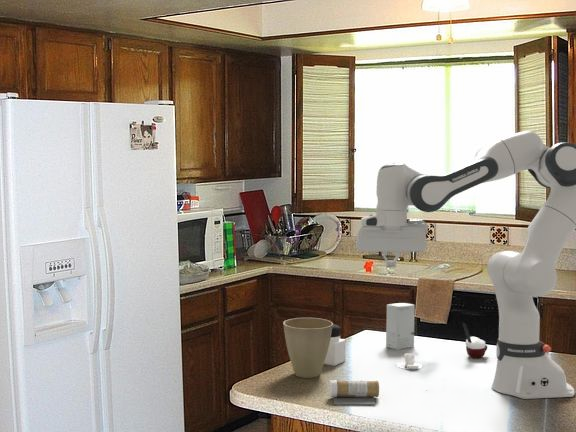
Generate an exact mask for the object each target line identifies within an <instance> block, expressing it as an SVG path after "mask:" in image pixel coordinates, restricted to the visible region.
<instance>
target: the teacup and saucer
mask: <svg viewBox="0 0 576 432" xmlns="http://www.w3.org/2000/svg"><path fill="white" fill-rule="evenodd" d="M401 365H405V367H402V366H401ZM396 366H397V368H399V369H403V370H420V369H422V368H423V365H422V364H420V363H418V362H417V363H416V362H415V354H414V353H411V352H410V353H408V352H407V353H404V362H399V363H397V364H396Z"/></svg>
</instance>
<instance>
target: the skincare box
mask: <svg viewBox="0 0 576 432" xmlns="http://www.w3.org/2000/svg"><path fill="white" fill-rule="evenodd" d="M415 306H416V305H415V304H413V303H408V302H398V303H389V304H386V320H385V321H386V325H385V326H386V329H385V331H386V337H385V347H387V348H390V349H393V350H396V351H397V350H398V351H399V350H403V349H408V348H414V346H415V308H416V307H415Z"/></svg>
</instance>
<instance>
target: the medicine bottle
mask: <svg viewBox="0 0 576 432" xmlns="http://www.w3.org/2000/svg"><path fill="white" fill-rule="evenodd" d="M343 362H346V339H345V338H341V326H340V325H338V324H335V323H333V327H332V333H331V338H330V343H329V348H328V351H327V355H326V358H325V361H324V364H323V365H328V366H334V367H335V366H337V365H339V364H342V363H343Z"/></svg>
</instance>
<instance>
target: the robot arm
mask: <svg viewBox="0 0 576 432" xmlns="http://www.w3.org/2000/svg"><path fill="white" fill-rule="evenodd" d="M526 170H527V171H528V173H529V174H530V175H531V176H532V177H533V178H534V180H535V181H536V182H537V183H538V184H539V185H540V186H541V187H543V188H544V189H545V188H546V189H549V190H550V192H549V195H548V197H547V199H546V201H545V202H544V203H543V204H542V206H541V207H540V209H539V210H538V212H537V213H536V214H535V216H534V218H533V219H532V221H530V223H529V224H528V227H527V228H526V234H527V240H526V243H525V245H524V248H523V250H522V251H521V252H518V251H515V250H505V251H503V250H502V251H499V252H495V253H494V254H493V255H492V256H491V257H490V258H489V260H488V262H487V266H486V272H487V275H488V277H489V278H490V281H491V282H492V285H493V289H494V292H495V298H496V302H497V306H498V317H499V318H498V323H499V324H498V338H497V339H496V340H497V343H496V358H497V360H496V361H497V362H496V367H495V368H496V370H495V373H494V378H493V382H492V385H491V388H492V389H493V390H494V391H496V392H499V393H501V394H504V395H509V396H514V397H517V398H520V399H525V400H529V399H545V398H546V399H549V398H550V399H552V398H568V397H569V398H571V397H574V396H575V394H576V393H575V388H574V387H573V386H572V385H571V384H570V383H568V382H567V377H566V373H565V371H564V369H563V368H562V367H561V365H560V364H558V363H557V362H555V361H554V360H553V358H551V357H550V356H548V355H547V354H550V352H551V350H552V348H551V346H549V344H545V342H543V341H541V340H540V322H541V320H540V319H541V316H540V312H539V310H538V308H537V306H536V305H535V302H534V298H533V297H543V296H546V295H548V294H551V293H552V291H553V290H554V289H555V287H556V285H557V282H558V273H557V270H556V269H557V263H558V261H559V258H560V254H561V253H562V250H563V249H564V247H565V245H566V244H567V243H568V241H569V239H570V237H571V236H572V234H573V233H574V232H575V230H576V144H575V143H573V142H568V141H566V142H565V141H563V142H558V143H555V144H553V145H552V146H550V147H549V146H546V144H545V143H544V142H543V139H542V138H541V136H540V135H538V133H536V132H535V131H532V130H525V131H520V132H515V133H513V134H509V135H506V136H503V137H500V138H498V139H495V140H494V141H491V142H490V143H488V144H486V145H484V146H483V147H481V148H479V149H478V150H477V151H476V153H475V157H474V158H473V160H472V161H470V162H469V163H468V164H466V165H464V166H461V167H459V168H456V169H455V170H453V171H450V172H448V173H445V174H441V175H428V174H424V173H422V172H419V171H417V170H415V169H413V168H411V167H409V166H408V165H406V163H404V162H397V163H396V162H393V163H389V164H385V165H382V166H381V167H380V168H379V170H378V172H377V176H376V177H377V179H376V198H377V204H376V208H375V212H376V213H372V214H369V215H366V216H362V217H361V218H360V225H361V226H359V227H358V230H357V233H356V234H357V235H356V243H355V248H356V250H357V251H358V252H372V253H373V252H375V253H376V252H377V253H379V252H380V253H381V255H382V257H383V259H384V260H385V268H396V267H397V261H398V260H399V258H400V257H401V253H425V252H426V251H427V248H428V247H427V245H428V244H427V243H428V242H427V236H426V235H427V234H428V231H429V230H428V229H429V226H428V223H427V222H426V221H424V220H423V219H408V206H414V207H415V208H416V209H417V210H419V211H421V212H425V213H433V212H436V211H439V210H440V209H441V208H443V207H444V205H446V204H447V202H448V201H449V200H450V199H451V198H453V197H455V196H456V195H458V194H460V193H463V192H465V191H468V190H469V189H471V188H474V187H476V186H479V185H481V184H485V183H490V182H493V181H499V180H502V179H504V178H508V177H511V176H514V175H515V174H518V173H520V172H523V171H526ZM389 252H390V253H391V252H393V253H394V256H395V257H394V259H393V260H388V258H387V256H388V253H389Z"/></svg>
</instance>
